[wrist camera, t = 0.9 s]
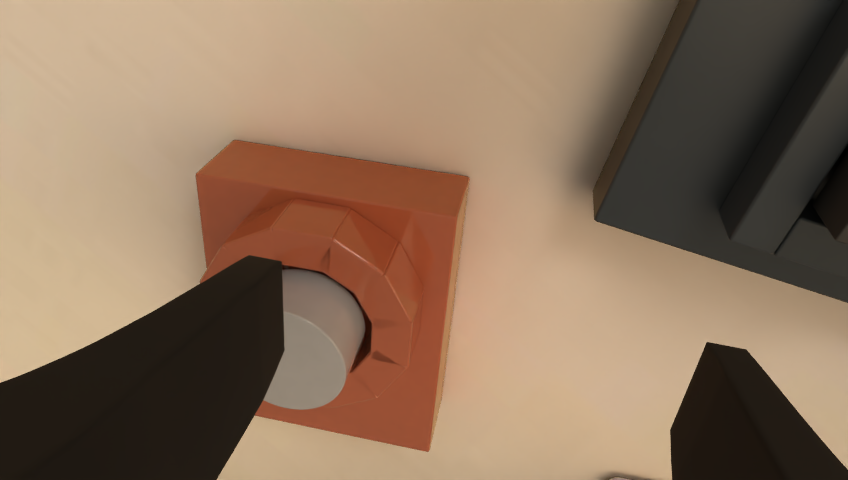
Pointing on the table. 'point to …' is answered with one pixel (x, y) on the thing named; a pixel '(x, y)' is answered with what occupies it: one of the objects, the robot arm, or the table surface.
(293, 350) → the gray push button
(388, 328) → the orange knob plate
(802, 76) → the dark gray socket plate
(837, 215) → the dark top block
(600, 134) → the table surface
